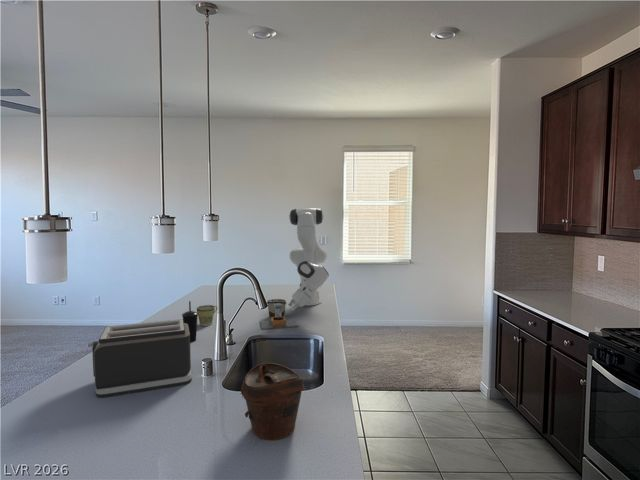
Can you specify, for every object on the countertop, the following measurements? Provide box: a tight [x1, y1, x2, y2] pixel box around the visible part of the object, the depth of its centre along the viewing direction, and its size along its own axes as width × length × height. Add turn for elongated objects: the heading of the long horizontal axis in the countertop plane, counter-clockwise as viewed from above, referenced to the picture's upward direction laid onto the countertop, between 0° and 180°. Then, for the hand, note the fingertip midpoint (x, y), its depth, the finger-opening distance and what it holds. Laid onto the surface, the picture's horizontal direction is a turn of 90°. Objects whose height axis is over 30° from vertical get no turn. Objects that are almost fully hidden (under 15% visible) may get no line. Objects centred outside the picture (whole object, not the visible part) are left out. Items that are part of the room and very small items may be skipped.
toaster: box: [87, 318, 193, 399], centre depth 145 cm, size 19×35×20 cm, turn 112°
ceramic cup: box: [196, 304, 218, 327], centre depth 222 cm, size 13×10×10 cm
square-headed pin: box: [274, 303, 282, 320], centre depth 219 cm, size 4×4×11 cm
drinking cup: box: [181, 300, 199, 343], centre depth 192 cm, size 8×8×20 cm
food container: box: [266, 298, 288, 318], centre depth 238 cm, size 12×6×10 cm, turn 84°
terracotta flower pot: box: [240, 362, 306, 441], centre depth 114 cm, size 18×20×18 cm
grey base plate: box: [259, 316, 299, 330], centre depth 220 cm, size 14×20×4 cm
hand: (290, 307), depth 221 cm, fingers open, 8 cm apart
